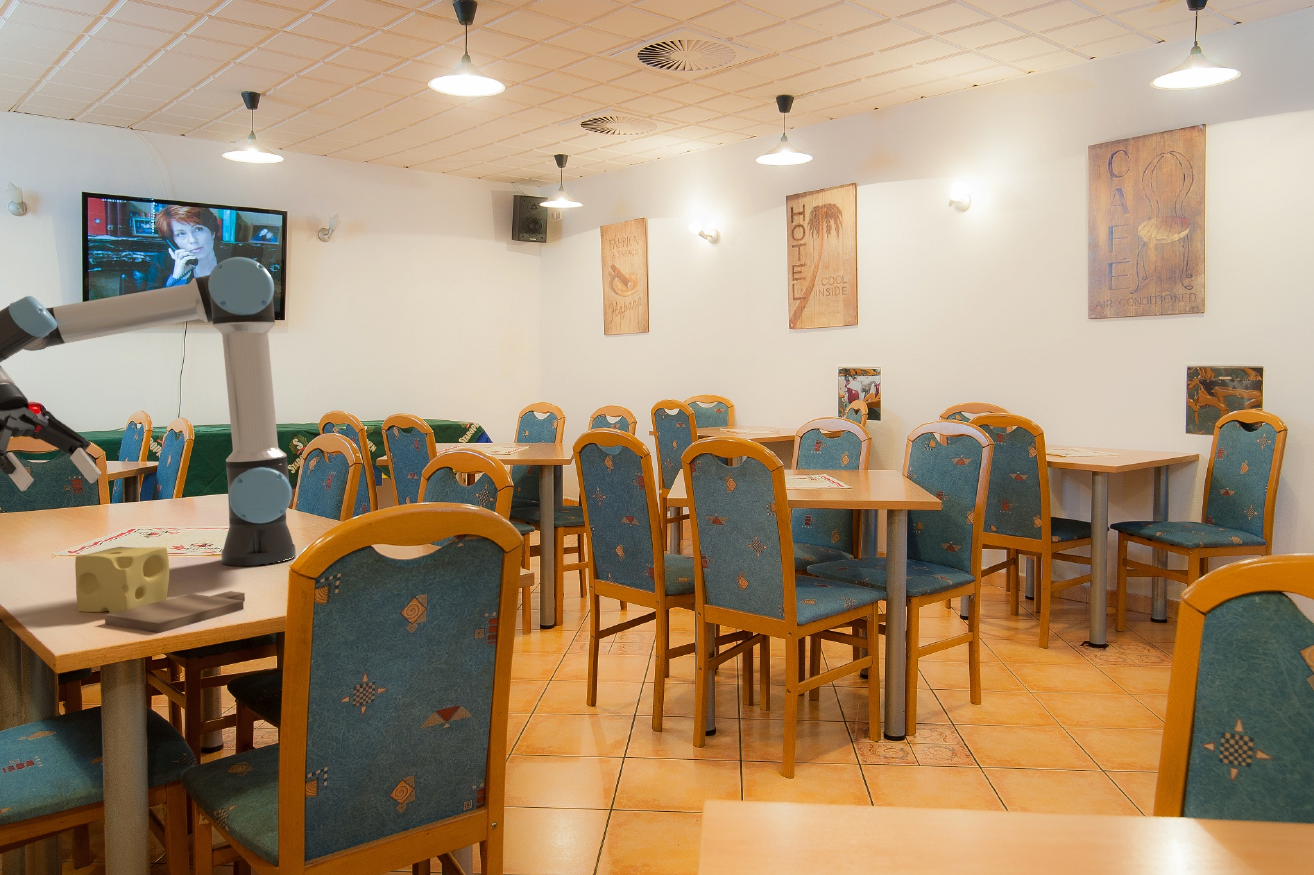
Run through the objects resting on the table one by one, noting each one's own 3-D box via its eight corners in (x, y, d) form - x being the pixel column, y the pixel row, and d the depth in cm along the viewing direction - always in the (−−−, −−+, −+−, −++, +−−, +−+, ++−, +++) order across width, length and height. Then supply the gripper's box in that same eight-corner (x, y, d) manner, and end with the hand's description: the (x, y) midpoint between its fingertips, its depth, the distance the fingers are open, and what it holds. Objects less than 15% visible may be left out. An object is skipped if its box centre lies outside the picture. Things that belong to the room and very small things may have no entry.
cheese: (126, 615, 152) (124, 557, 151) (72, 612, 154) (70, 555, 153) (171, 601, 162) (169, 546, 161) (120, 598, 164) (118, 544, 163)
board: (212, 596, 165) (212, 588, 164) (263, 603, 159) (263, 595, 159) (105, 623, 146) (104, 614, 146) (158, 632, 141) (158, 623, 141)
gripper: (46, 409, 175) (110, 488, 172) (-89, 411, 150) (-17, 504, 147) (67, 382, 173) (132, 462, 170) (-66, 380, 149) (7, 473, 146)
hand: (63, 482), depth 159 cm, fingers open, 13 cm apart
